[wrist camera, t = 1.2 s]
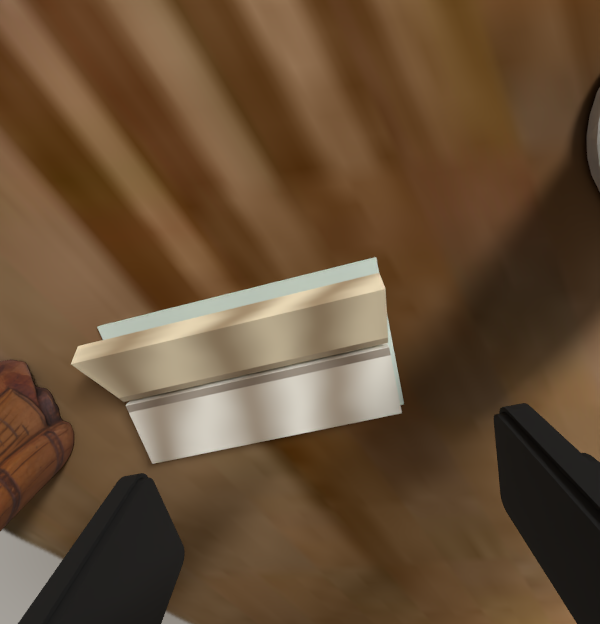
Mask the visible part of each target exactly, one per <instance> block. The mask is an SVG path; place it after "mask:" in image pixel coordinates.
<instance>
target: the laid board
mask: <svg viewBox="0 0 600 624" xmlns="http://www.w3.org/2000/svg"><path fill="white" fill-rule="evenodd" d="M126 408H127V410H128V412H129V414H130V416H131V418H132V420H133V423H134V425H135V427H136V429H137V431H138V433H139V436H140V438H141V440H142V442H143V444H144V446H145V449H146V451H147V453H148V455H149V457H150V459H151V462H152V464H154V463H159V462H164V461H169V460H174V459H179V458H184V457H189V456H194V455H198V454H203V453H208V452H213V451H218V450H223V449H228V448H233V447H238V446H243V445H248V444H253V443H258V442H262V441H267V440H272V439H277V438H282V437H287V436H292V435H297V434H302V433H307V432H312V431H317V430H322V429H326V428H331V427H336V426H341V425H346V424H351V423H356V422H361V421H366V420H371V419H376V418H381V417H385V416H390V415H395V414H400V413H402V411H401V406H400V401H399V395H398V390H397V385H396V380H395V375H394V370H393V365H392V359H391V354H390V349H389V346H388V344H387V343H385V344H381V345H376V346H372V347H367V348H363V349H358V350H354V351H349V352H345V353H340V354H336V355H331V356H327V357H323V358H318V359H314V360H309V361H305V362H300V363H296V364H291V365H287V366H282V367H278V368H273V369H269V370H264V371H260V372H256V373H251V374H247V375H242V376H238V377H233V378H229V379H224V380H220V381H215V382H211V383H206V384H202V385H197V386H193V387H188V388H184V389H180V390H175V391H171V392H166V393H162V394H157V395H153V396H148V397H144V398H139V399H135V400H130V401H129V402H128V403H127V404H126Z"/></svg>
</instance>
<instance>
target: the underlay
mask: <svg viewBox="0 0 600 624" xmlns="http://www.w3.org/2000/svg"><path fill="white" fill-rule="evenodd" d="M376 273H379V270H378V265H377V259H376V257H374V258H370V259H366V260H362V261H358V262H354V263H350V264H346V265H342V266H338V267H334V268H330V269H326V270H322V271H318V272H314V273H310V274H306V275H302V276H298V277H294V278H290V279H286V280H282V281H278V282H274V283H270V284H266V285H262V286H258V287H254V288H250V289H246V290H242V291H237V292H233V293H229V294H225V295H221V296H217V297H213V298H209V299H205V300H201V301H197V302H193V303H189V304H185V305H181V306H177V307H173V308H169V309H165V310H161V311H157V312H153V313H149V314H145V315H141V316H137V317H133V318H129V319H125V320H121V321H117V322H113V323H109V324H105V325H101V326H98V327H97V328H98V330H99V332H100V335H101V337H102V339H103V340H106V339H110V338H114V337H118V336H122V335H126V334H130V333H134V332H138V331H143V330H147V329H151V328H155V327H159V326H163V325H167V324H171V323H175V322H179V321H184V320H188V319H192V318H196V317H200V316H204V315H208V314H212V313H216V312H220V311H224V310H229V309H233V308H237V307H241V306H245V305H249V304H253V303H257V302H261V301H265V300H270V299H274V298H278V297H282V296H286V295H290V294H294V293H298V292H302V291H306V290H311V289H315V288H319V287H323V286H327V285H331V284H335V283H339V282H343V281H347V280H352V279H356V278H360V277H364V276H368V275H372V274H376ZM387 328H388V343H387V344H388V346H389V349H390V354H391V359H392V365H393V370H394V375H395V380H396V385H397V390H398V395H399V401H400V405H403V404H404V401H403V396H402V390H401V385H400V380H399V375H398V369H397V364H396V359H395V354H394V349H393V343H392V338H391V333H390V328H389V322H388V317H387Z"/></svg>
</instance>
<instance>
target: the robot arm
mask: <svg viewBox="0 0 600 624" xmlns="http://www.w3.org/2000/svg"><path fill="white" fill-rule="evenodd" d="M587 159H588V163H589V167H590V171H591V175H592V177H593V180H594V182H595V184H596V186H597V188H598V190H599V192H600V87H599V89H598V91H597V94H596V97H595V100H594V103H593V106H592V109H591V113H590V116H589V123H588V130H587ZM494 428H495V439H496V449H497V460H498V471H499V482H500V493H501V499H502V503H503V505H504V508H505V510H506V512H507V513H508V515H509V517H510V518H511V520H512V521H513V523H514V525H515V526H516V528H517V529H518V531H519V533H520V534H521V536H522V537H523V539H524V540H525V542H526V544H527V545H528V547H529V548H530V550H531V551H532V553H533V555H534V556H535V558H536V559H537V561H538V563H539V564H540V566H541V567H542V569H543V570H544V572H545V574H546V575H547V577H548V578H549V580H550V581H551V583H552V585H553V586H554V588H555V589H556V591H557V593H558V594H559V596H560V597H561V599H562V600H563V602H564V604H565V605H566V607H567V608H568V610H569V612H570V613H571V615H572V616H573V618H574V619H575V621H576V623H577V624H600V462H599V461H597V460H596V459H595V458H593V457H592V456H591V455H589V454H586V453H580V452H579V451H578V450H577V449H576V448H575V447H574V446H573V445H572V444H571V443H569V442H568V441H567V440H566V439H565V438H564V437H563V436H562V435H561V434H560V433H559V432H558V431H556V430H555V429H554V428H553V427H552V426H551V425H550V424H549V423H548V422H547V421H546V420H545V419H543V418H542V417H541V416H540V415H539V414H538V413H537V412H536V411H535V410H534V409H533V408H532V407H530V406H529V405H528V404H526V403H522V404H517V405H511V406H506V407H502V408H500V414H496V415H494ZM183 561H184V547H183V544H182V542H181V540H180V537H179V535H178V533H177V531H176V529H175V527H174V524H173V522H172V520H171V518H170V516H169V514H168V511H167V509H166V507H165V505H164V503H163V500H162V498H161V496H160V494H159V492H158V490H157V487H156V485H155V483H154V481H153V479H151V478H148V477H147V475H146V474H143V473H141V474H135V475H130V476H124V477H122V478H121V479H120V480H119V481H118V482H117V483H116V485H115V486H114V488H113V489H112V491H111V492H110V493H109V495H108V496H107V498H106V499H105V501H104V502H103V503H102V505H101V506H100V508H99V509H98V511H97V512H96V513H95V515H94V516H93V518H92V519H91V520H90V522H89V523H88V525H87V526H86V528H85V529H84V530H83V532H82V533H81V535H80V536H79V538H78V539H77V540H76V542H75V543H74V545H73V546H72V548H71V549H70V550H69V552H68V553H67V555H66V556H65V557H64V559H63V560H62V562H61V563H60V565H59V566H58V567H57V569H56V570H55V572H54V573H53V575H52V576H51V577H50V579H49V580H48V582H47V583H46V585H45V586H44V587H43V589H42V590H41V592H40V593H39V595H38V596H37V597H36V599H35V600H34V602H33V603H32V604H31V606H30V607H29V609H28V610H27V612H26V613H25V614H24V616H23V617H22V619H21V620H20V622H19V623H18V624H161V622H162V620H163V617H164V614H165V611H166V609H167V606H168V603H169V600H170V597H171V595H172V592H173V589H174V586H175V584H176V581H177V578H178V575H179V573H180V570H181V567H182V564H183Z"/></svg>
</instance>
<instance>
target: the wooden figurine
mask: <svg viewBox="0 0 600 624" xmlns="http://www.w3.org/2000/svg"><path fill="white" fill-rule="evenodd" d="M73 444H74V432H73V429H72V426H71V424H70V423H68V422H66V421H63V420H62V419H61V417H60V414H59V408H58V406H57V404H55V402H54V399H53V396H52V394H51V393H50V392H49V391H48V390H47V389H45V388H40V387H37V386H34V383H33V380H32V377H31V373H30V371H29V369H28V366H27V364H26V363H25V362H23V361H16V360H7V361H1V362H0V531H1V530H2V529H3V528H4V527H5V526H6V525H7V524H8V522H9V521H10V520H11V519H12V518H13V517H14V516H15V515H16V514H17V513H18V512H19V511H20V510H21V509H22V508H23V507H24V506H25V505H26V504H27V503H28V502H29V501H30V499H31V498H32V497H33V496H34V495H35V494H36V493H37V492H38V491H39V490H40V489H41V488H42V487H43V486H44V485H45V484H46V483H47V482H48V481H49V480H50V479H51V478H52V477H53V476H54V475H55V474H56V473H57V472H58V471H59V470H60V469H61V468H62V466H63V465H64V464H65V463H66V461H67V459H68V457H69V456H70V454H71V452H72V449H73Z"/></svg>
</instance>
